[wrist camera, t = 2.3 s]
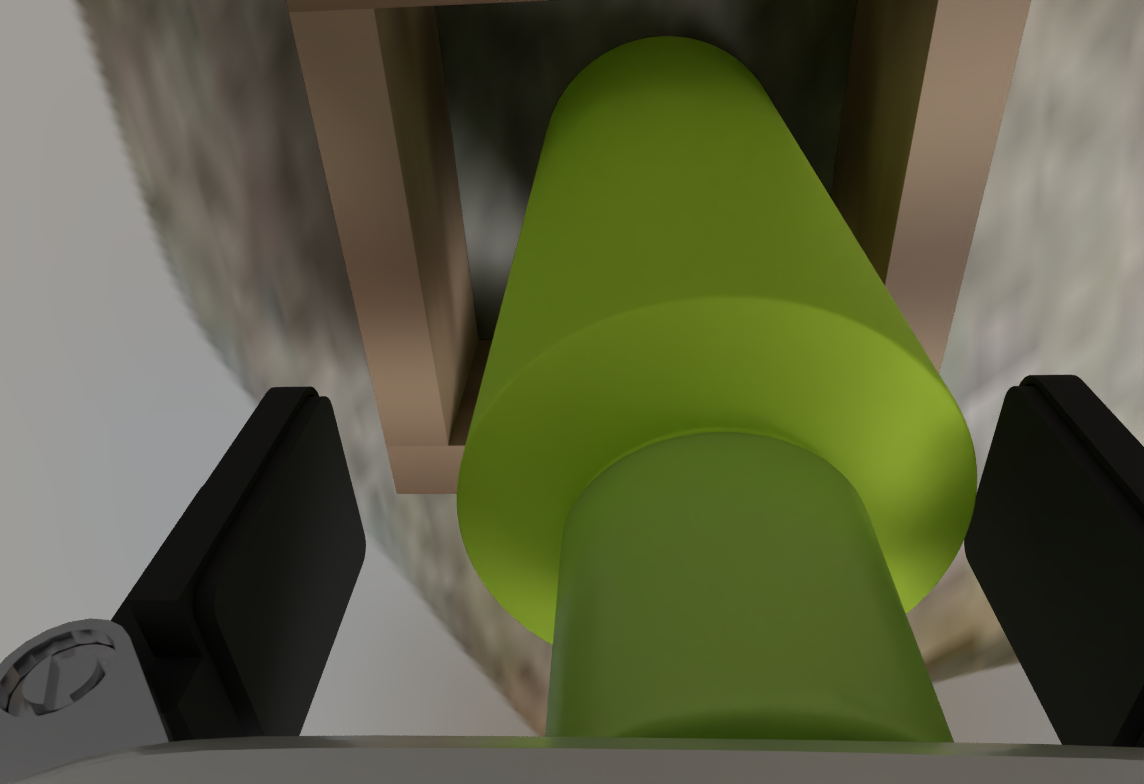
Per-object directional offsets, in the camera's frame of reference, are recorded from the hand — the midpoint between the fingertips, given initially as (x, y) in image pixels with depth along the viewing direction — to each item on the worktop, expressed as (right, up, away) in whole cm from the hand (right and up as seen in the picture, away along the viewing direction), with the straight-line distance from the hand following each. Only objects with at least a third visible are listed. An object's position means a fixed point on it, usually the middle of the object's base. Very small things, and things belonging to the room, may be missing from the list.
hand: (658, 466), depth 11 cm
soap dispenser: (+1, +7, +9) cm, 11 cm away
